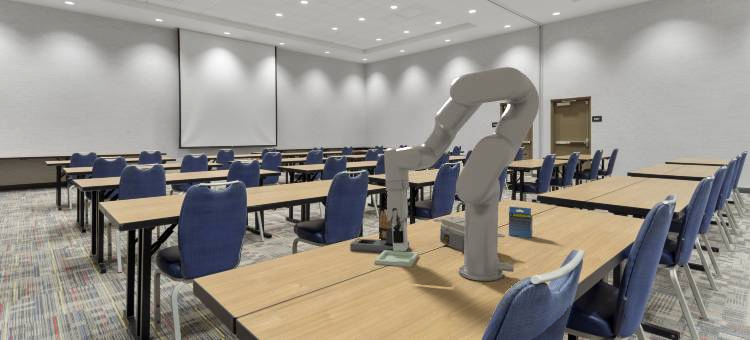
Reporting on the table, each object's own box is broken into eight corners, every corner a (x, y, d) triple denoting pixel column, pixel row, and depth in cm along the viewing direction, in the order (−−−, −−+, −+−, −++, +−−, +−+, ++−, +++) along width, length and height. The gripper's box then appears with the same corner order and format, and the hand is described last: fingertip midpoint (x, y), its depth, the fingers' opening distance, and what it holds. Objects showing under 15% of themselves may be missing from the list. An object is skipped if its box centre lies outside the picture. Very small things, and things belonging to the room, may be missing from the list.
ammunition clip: (400, 243, 158) (400, 213, 157) (397, 244, 156) (396, 213, 156) (382, 238, 166) (382, 209, 165) (378, 239, 165) (378, 210, 164)
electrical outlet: (450, 237, 165) (451, 212, 164) (507, 258, 141) (509, 230, 140) (428, 241, 159) (429, 216, 157) (484, 264, 135) (486, 235, 134)
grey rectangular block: (407, 247, 135) (406, 219, 134) (405, 250, 131) (403, 221, 131) (396, 247, 136) (394, 219, 136) (393, 250, 132) (391, 221, 132)
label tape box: (532, 236, 167) (533, 206, 166) (530, 238, 164) (531, 208, 163) (510, 233, 172) (511, 205, 171) (508, 235, 168) (508, 206, 167)
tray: (418, 257, 139) (418, 252, 138) (411, 268, 127) (411, 262, 127) (384, 255, 142) (384, 250, 142) (374, 265, 131) (374, 260, 130)
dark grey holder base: (413, 245, 155) (412, 221, 155) (404, 255, 141) (404, 230, 140) (363, 241, 161) (363, 219, 160) (350, 251, 147) (349, 227, 146)
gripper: (392, 183, 142) (395, 235, 142) (379, 188, 126) (382, 247, 126) (413, 182, 139) (416, 235, 140) (402, 188, 123) (405, 247, 124)
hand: (400, 240), depth 133 cm, fingers closed on grey rectangular block, 4 cm apart
